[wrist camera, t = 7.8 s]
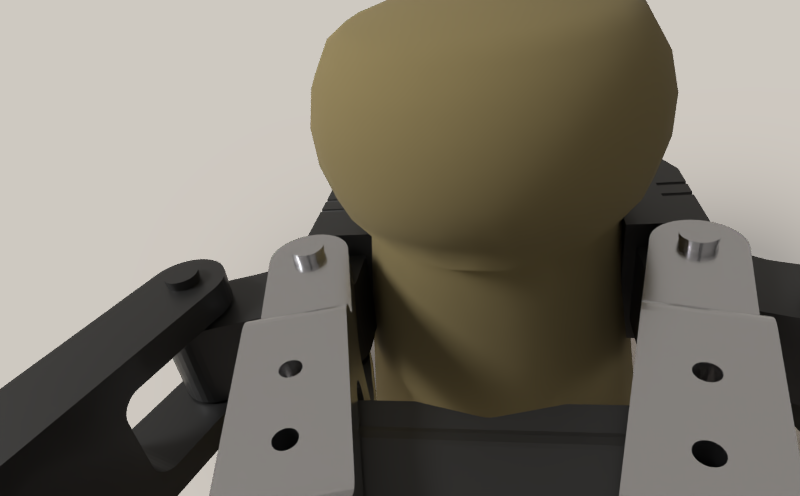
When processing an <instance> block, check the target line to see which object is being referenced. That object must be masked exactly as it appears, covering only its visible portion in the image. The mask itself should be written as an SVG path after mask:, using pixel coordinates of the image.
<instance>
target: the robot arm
mask: <svg viewBox="0 0 800 496" xmlns="http://www.w3.org/2000/svg"><path fill="white" fill-rule="evenodd" d="M621 287H622V297H623V308H624V319H625V329H626V338H635V341H636V344H637V346H636V355H635V363H634V372H633V380H632V389H631V397H630V405H588V404H564V405H559V406H553V407H548V408H542V409H537V410H531V411H526V412H521V413H515V414H510V415H504V416H499V417H492V418H489V417H480V416H476V415H471V414H467V413H463V412H459V411H454V410H450V409H446V408H442V407H437V406H433V405H429V404H425V403H420V402H416V401H377V399H376V389H375V379H374V369H373V362H372V357H371V353H370V350H371V347H372V344H373V340H374V336H375V332H376V329H377V323H376V315H375V306H374V297H373V273H372V236H371V235H370V234H368V233H367V232H366V231H365V230H364V229H362V228H361V227H360V226H359V225H358V224H356V223H355V222H354V221H353V220H352V219H351V218H350V216H349V215H348V214H347V212H346V211H345V209H344V208H343V207H342V205H341V204H340V202H339V201H338V200H337V198H336V196H335V194H334V192H333V190H332V192H331V194H330V196H329V198H328V202H326V203H325V205H324V207H323V209H322V212H321V213H320V215H319V217H318V218H317V221H316V222H315V224H314V226H313V228H312V230H311V232H310V233H309V235H308V236H306V237H302V238H298V239H296V240H293V241H291V242H289V243H287V244H285V245H284V246H282V247H281V248H279V249H278V250H277V251H276V252H275V253H274V254H273V256H272V257H271V260H270V265H269V271H268V272H265V273H261V274H258V275H254V276H249V277H244V278H240V279H235V280H231V281H228V278H227V275H226V273H225V270H224V268H223V266H222V265H221V264H220V263H218V262H216V261H213V260H207V259H206V260H205V259H200V260H192V261H187V262H183V263H180V264H177V265H174V266H172V267H170V268H168V269H166V270H164V271H162V272H160V273H159V274H158V275H156V276H155V277H153V278H152V279H151V280H149V281H148V282H146V283H145V284H144V285H143V286H141V287H140V288H138V289H137V290H135V291H134V292H133V293H131V294H130V295H129V296H127V297H126V298H124V299H123V300H122V301H120V302H119V303H118V304H116V305H115V306H113V307H112V308H111V309H109V310H108V311H107V312H105V313H104V314H103V315H101V316H100V317H98V318H97V319H96V320H94V321H93V322H91V323H90V324H89V325H87V326H86V327H85V328H83V329H82V330H80V331H79V332H78V333H76V334H75V335H74V336H72V337H71V338H70V339H68V340H67V341H66V342H64V343H63V344H62V345H60V346H59V347H57V348H56V349H54V350H53V351H52V352H50V353H49V354H48V355H46V356H45V357H43V358H42V359H41V360H39V361H38V362H37V363H35V364H34V365H32V366H31V367H30V368H28V369H27V370H26V371H24V372H23V373H22V374H20V375H19V376H17V377H16V378H15V379H13V380H12V381H11V382H9V383H8V384H6V385H5V386H4V387H3V388H1V389H0V496H178V495H179V493H180V492H181V491H182V490H183V489H184V488H185V487H186V485H187V484H188V483H189V482H190V481H191V480H192V479H193V478H194V476H195V475H196V474H197V473H198V472H199V471H200V470H201V468H202V467H203V466H204V465H205V464H206V463H207V462H208V461H209V459H210V458H211V457H212V456H213V455H214V454H215V453H216V451H217V450H218V454H217V460H216V464H215V469H214V474H213V479H212V484H211V490H210V494H209V496H800V455H799V449H798V444H797V438H796V432H795V427H796V428H797V429H798V430H799V431H800V265H799V264H792V263H785V262H778V261H772V260H766V259H762V258H758V257H755V256H752V255H751V248H750V244H749V242H748V241H747V239H746V238H745V237H744V236H743V235H742V234H740V233H739V232H737V231H736V230H734V229H732V228H730V227H727V226H724V225H721V224H718V223H714V222H710V221H709V219H708V217H707V216H706V214H705V212H704V211H703V209H702V207H701V206H700V204H699V203H698V201H697V199H696V198H695V196H694V195H692V191H691V189H690V188H689V186H688V184H686V181H685V179H684V178H683V176H682V175H681V173H680V171H679V170H678V168H676V167H674V166H673V165H671V164H669V163H668V162H666V161H664V160H661V163H660V165H659V168H658V170H657V172H656V175H655V177H654V178H653V180H652V182H651V184H650V186H649V188H648V190H647V191H646V193H645V195H644V197H643V199H642V200H641V201H640V202H639V203H638V204H637V205H636V206H635V207H634V208H633V209H632V210H631V211H630V212H629V213H628V214H627V215H626V216H625V217H624V218H623V219H622V252H621ZM172 358H173V360H174V362H175V364H176V366H177V369H178V371H179V373H180V375H181V377H182V379H183V382H182V383H181V384H180V385H179V386H177V387H176V388H175V389H174V390H173V391H172V392H171V393H170V394H169V395H168V396H167V397H166V398H165V399H164V400H163V401H162V402H161V403H159V404H158V405H157V406H156V407H155V408H154V409H153V410H152V411H151V412H150V413H149V414H148V415H147V416H146V417H145V418H144V419H142V420H141V421H140V422H139V423H138V424H137V425H136V426H135V427H134V428H133V429H131V427H130V425H129V424H128V421H127V417H126V411H127V406H128V403H129V401H130V399H131V397H132V395H133V394H134V393H135V391H136V390H137V389H138V388H139V387H141V386H142V385H143V384H144V383H145V382H146V381H147V380H149V379H150V378H151V377H152V376H153V375H154V374H155V373H156V372H157V371H159V370H160V369H161V368H162V367H163V366H164V365H165V364H166V363H168V362H169V361H170V360H171V359H172Z"/></svg>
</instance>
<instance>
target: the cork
mask: <svg viewBox="0 0 800 496" xmlns="http://www.w3.org/2000/svg"><path fill="white" fill-rule="evenodd" d="M677 97H678V88H677V82H676V74H675V67H674V60H673V54H672V49H671V47H670V45H669V43H668V41H667V40H666V37H665V36H664V34H663V32H662V30H661V28H660V26H659V24H658V22H657V20H656V19H655V17H654V15H653V13H652V11H651V9H650V7H649V5H648V4H647V2H646V0H386V1H384V2H382V3H380V4H377V5H375V6H372V7H370V8H368V9H365V10H363V11H361V12H359V13H357V14H356V15H354V16H353V17H351V18H350V19H348V20H347V21H346V22H345V23H343V24H342V25H341V26H340V27H339V28H338V29H337V30H336V31H335V32H334V33H333V34H332V35H331V36H330V37H329V38H328V39H327V41H326V44H325V47H324V50H323V52H322V55H321V58H320V61H319V64H318V67H317V71H316V73H315V77H314V81H313V85H312V89H311V132H312V136H313V140H314V144H315V148H316V152H317V156H318V160H319V165H320V167H321V169H322V171H323V173H324V175H325V177H326V179H327V180H328V182H329V184H330V186H331V188H332V190H333V192H334V194H335V196H336V198H337V200H338V201H339V202H340V204H341V205H342V207H343V208H344V209H345V211H346V212H347V214H348V215H349V216H350V218H351V219H352V220H353V221H354V222H355V223H356V224H358V225H359V226H360V227H361V228H362V229H364V230H365V231H366V232H367V233H368V234H370V235H371V236H372V273H373V297H374V306H375V315H376V323H377V329H376V332H375V336H374V342H375V367H376V393H377V401H416V402H420V403H425V404H429V405H433V406H437V407H442V408H446V409H450V410H454V411H459V412H463V413H467V414H471V415H476V416H480V417H489V418H492V417H499V416H504V415H510V414H515V413H521V412H526V411H531V410H537V409H542V408H548V407H553V406H559V405H564V404H588V405H630V397H631V389H632V380H633V366H632V353H631V339H630V338H626V329H625V319H624V308H623V297H622V287H621V252H622V219H623V218H624V217H625V216H626V215H627V214H628V213H629V212H630V211H631V210H632V209H633V208H634V207H635V206H636V205H637V204H638V203H639V202H640V201H641V200H642V199H643V197H644V195H645V193H646V191H647V190H648V188H649V186H650V184H651V182H652V180H653V178H654V177H655V175H656V172H657V170H658V168H659V165H660V163H661V160H662V158H663V156H664V153H665V151H666V148H667V146H668V144H669V141H670V139H671V137H672V132H673V125H674V118H675V111H676V104H677Z"/></svg>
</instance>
